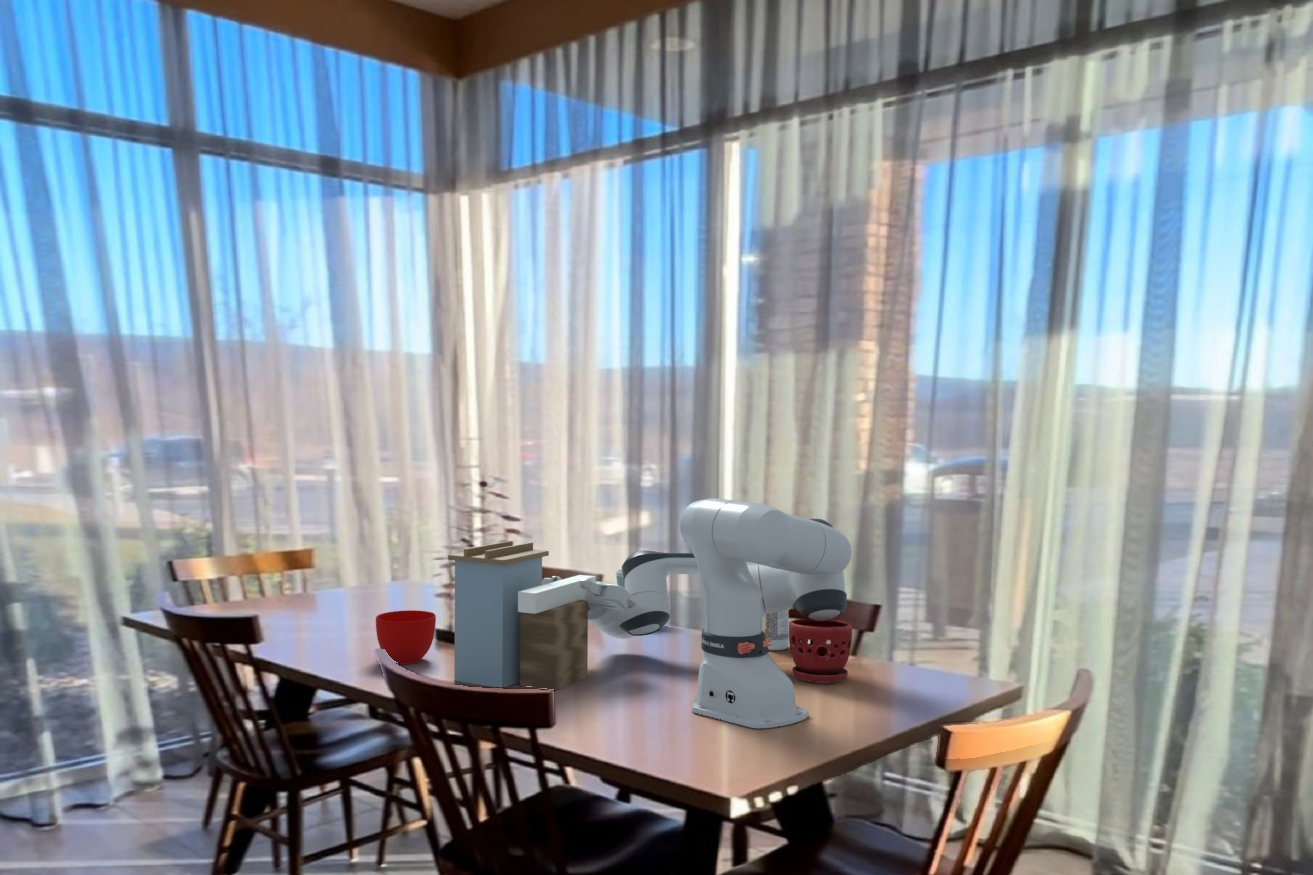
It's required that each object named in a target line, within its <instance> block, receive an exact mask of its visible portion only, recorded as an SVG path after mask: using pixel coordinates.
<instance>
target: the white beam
mask: <svg viewBox="0 0 1313 875" xmlns="http://www.w3.org/2000/svg"><path fill="white" fill-rule="evenodd" d="M562 579H563V578H562ZM582 579H587V580H590V581H591V582H594V583H596V581H597V576H595V575H588V574H587V575H584V574H577V575H574V576H570V577H566V578H564V579H563V580H559V581H555V582H552V583H548V584H544V585H541V586H537V587H533V588H530V589H526V590H523V591H519V592H518V612H523V613H532V614H536V613H539V612H543V611H546V610H549V609H552V608H555V607H558V606H561V605H565V604H568V603H571V602H574V601H577V600H580V599H584V598H585V595H587V592H588V590H585V589H582V588H581V587H580V583H581V580H582Z"/></svg>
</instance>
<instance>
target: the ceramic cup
mask: <svg viewBox="0 0 1313 875" xmlns="http://www.w3.org/2000/svg"><path fill="white" fill-rule="evenodd" d="M436 620H437V615H436V614H435V613H434V612H430V611H426V610H413V609H412V610H411V609H410V610H409V609H408V610H395V611H388V612H387V611H386V612H384V613H383V612H382V613H380V614H378V615H376V616H375V631H376V638H377V642H378V645H379V648H380V650H381V649H385V650H386V652H387V653H388V655H389V656H390V657H391V658H392V659H393V660H394V661H396V662H398V664H397V665H410V664H411V665H412V664H416V663H420V662H421V661H422V660H423V658H424V657H425V656H426V655H427V653H428V652H429V650H430V649H431V646H432V645H433V641H434V637H435V633H436Z"/></svg>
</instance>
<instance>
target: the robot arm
mask: <svg viewBox="0 0 1313 875" xmlns="http://www.w3.org/2000/svg"><path fill="white" fill-rule="evenodd" d="M679 529H680V530H679V531H680V535H681V538H682V539H683V541H684V543H685V544H686V545H687V546H688V547H689V548H690V550H691V552H664V551H654V550H646V549H645V550H636V551H634V552H632V553H631V554H629V556H628V557H627V558H626V559H625V560H624V562H623V563H622V565H621V568H622V572H623V579H624V582H625V588H624V587H622V586H619V585H617V584H609V583H605V582H603V581H599V580H598V581H597V580H596V583H594V582H591V581H590V580H587V579H582V580H581V583H580V587H581V588H582V589H585V590H588V592H587V595H585V598H584V599H580V600H586V601H588V623H590V624H591V625H594V626H596V627H597V628H598V629H599V630H600V631H602V632H603V633H605V634H606V635H608V636H610V637H613V638H615V639H620V640H621V639H622V640H625V639H630V638H633V637H634V636H635V637H641V636H648V635H652V634H655V633H657V632H659V631H660V630H662V628H664V627H665V625H666V624H667V623H668V622H669V621H670V618H671V615H670V613H671V612H670V599H669V593H668V582H667V579H668V578H667V577H668V576H669V575H699V576H700V578H701V583H702V584H701V585H702V591H703V629H702V630H701V637H700V642H701V644H700V645H701V647H700V648H701V650H702V651H703V653H702V659H701V662H700V666H699V669H698V678H697V688H696V695H695V696H696V697H695V699H694V702H693V705H692V708H691V709H692V710H691V712H692V713H694V714H697V713H698V715H701V714H702V716H706V717H708V716H709V718H712V717H713V719H716V718H717V720H720V719H721V721H725V722H727V723H732V724H734V725H735V724H736V725H739V726H744V727H748V728H751V729H770V728H771V729H772V728H778V726H779V727H784V726H789V725H792V724H795V723H798V722H801V721H803V720H805V719H807V718H808V717H809V710H808V709H806V708H803V707H801V706H799V705H797V704H796V691H795V687H794V683H793V682H792V680H791V679H790V678H789V677H788V676H787V674H786V673H785V672H784V671H783V670H782V668H781V667H780V666H779V665H778V664H777V662H776V661H775V660H774V658H773V657H771V655H770V654H769V651H770V650H769V649H768V646H772V644H768V643H770V642H772V641H773V640H766V638H765V634H764V632H763V631H762V615H765V614H771V613H777V612H781V611H785V610H791V609H792V610H795V611H796V612H798V613H799V614H800V615H801V616H803V617H804V619H809V620H817V621H825V620H833V619H835V618H838V617H839V616H841V615H842V614H843V613H844V612H845V610H846V609H847V604H848V603H847V602H848V600H847V598H848V595H847V592H846V585H845V574H844V570H845V569H846V568H847V567H848V566H849V564H850V562H851V559H852V555H853V554H852V553H853V552H852V545H851V543H850V540H849V539H848V537H847V536H846V535H845V534H844V533H843V532H840V530H837V529H835V528H834V527H833V525H832V524H831V523H829V521H827V520H825V519H823V518H822V519H821V518H805V517H801V516H798V515H793V514H790V513H787V512H783V511H781V510H780V509H777V508H775V507H772V506H770V505H767V504H763V503H761V502H760V503H758V502H750V501H743V500H735V499H734V500H733V499H724V498H717V497H715V498H714V497H713V498H706V499H700V500H697V501H693V502H691V503H690V504H689V505H687V506H686V507H685V509H684V511H683V512H682V514H681V517H680V521H679ZM747 563H751V564H747ZM559 580H563V578H562V577H560V576H558V575H553V576H551V577H544V578H542V585H544V584H548V583H552V582H555V581H559ZM767 644H768V645H767Z"/></svg>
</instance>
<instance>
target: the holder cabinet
mask: <svg viewBox="0 0 1313 875" xmlns="http://www.w3.org/2000/svg"><path fill="white" fill-rule="evenodd" d="M549 552H550V551H549V550H545V549H544V550H543V549H534V542H531V541H530V542H526V543H525V542H524V543H519V544H514V540H506V541H501V542H495V543H489V544H483V545H479V546H473V547H468V548H463V551H462V552H457V553H456V552H455V553H451V554H447V560H448V561H454V660H453V661H454V666H453V667H454V670H453V672H454V682H460V683H467V684H472V685H479V686H486V687H489V688H490V687H491V688H496V687H505V688H507V687H510V686H512V685H515V684H517V683H520V613H521V612H518V592H519V591H523V590H526V589H530V588H533V587H537V586H541V585H542V580H543V557H548V556H549V555H550V553H549Z"/></svg>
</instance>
